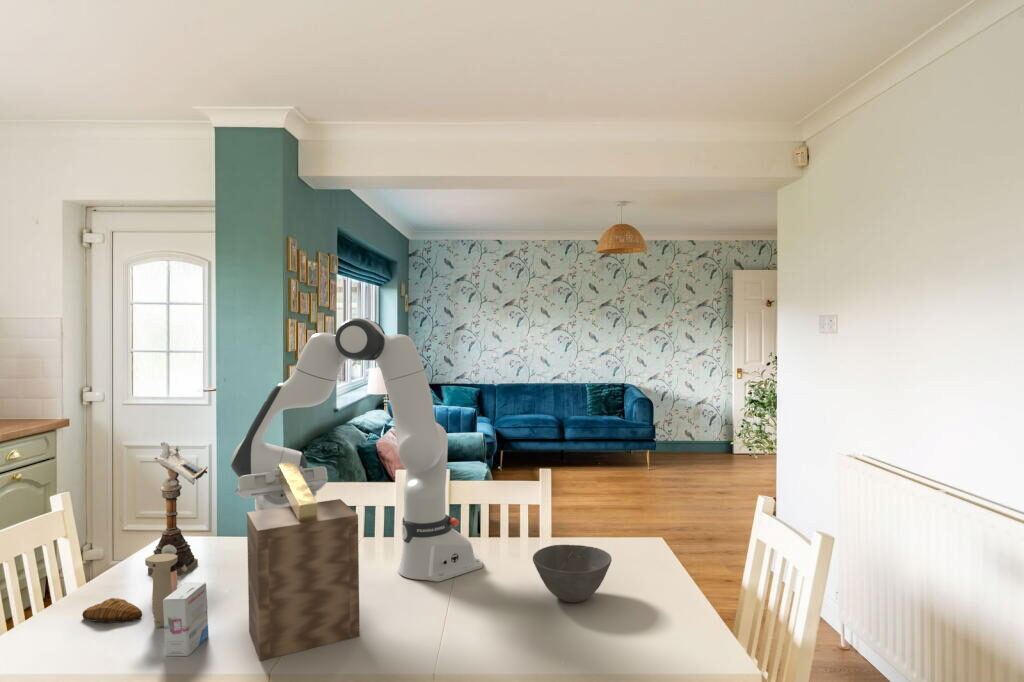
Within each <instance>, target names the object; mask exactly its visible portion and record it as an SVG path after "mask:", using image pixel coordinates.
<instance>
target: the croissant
mask: <svg viewBox="0 0 1024 682" xmlns="http://www.w3.org/2000/svg"><path fill="white" fill-rule="evenodd" d="M142 616H143V612H142V610H141V609H140V608H139V607H138V606H136V605H135V604H133V603H131V602H128V601H127V600H126V599H124V598H117V597H116V598H115V597H111V598H109V599H106V600H104V601H102V602H100V603H97V604H94V605H92V606H89V607H87V608H86V609H85V610H83V611H82V618H83V619H84V620H87V621H91V622H99V623H105V624H106V623H107V624H108V623H118V622H119V623H123V622H132V621H137V620H139V619H141V618H142Z"/></svg>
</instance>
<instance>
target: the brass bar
mask: <svg viewBox="0 0 1024 682" xmlns="http://www.w3.org/2000/svg"><path fill="white" fill-rule="evenodd" d="M278 469H280V478H278V480H279V482H280V484H281V486H282V488H283V490H284V492H285V494H286V496H287V498H288V500H289V502H290V504H291V505H290V506H292V508H293V511H294V513H295V515H296V517H297V519H298V521H299V522H302V521H308V520H315V519H317V502H318V501H317V499H316V498H315V497H314V496H313V494H312V492H311V491H310V489H309V487H308V485H307V484H306V482H305V480H304V478H303V477H302V475H301V473H300V471H299V470H298V468H297V466H296V464H295V463H294V462H289V463H280V464H278Z"/></svg>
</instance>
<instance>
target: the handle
mask: <svg viewBox="0 0 1024 682" xmlns="http://www.w3.org/2000/svg"><path fill="white" fill-rule="evenodd" d="M144 561H145V563H144V564H145V566H147V568H148V567H150V568H152V569H153V578H152V595H151V596H152V597H151V598H152V600H151V602H152V604H151V605H152V606H151V607H152V608H151V609H152V614H153V619H154V620H153V622H154V626H155V627H157V628H158V629H159V628H164V613H163V599H165V598H166V597H167V596H169V595H170V594H171V593H172V586H171V574H170V567H171V566H173V565H174V564H175V563H176V562H177V555H174V554H155V555H154V554H152V555H149V556H148V557H146V558H145V559H144Z"/></svg>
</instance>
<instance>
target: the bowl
mask: <svg viewBox="0 0 1024 682" xmlns="http://www.w3.org/2000/svg"><path fill="white" fill-rule="evenodd" d="M612 561H613V560H612V556H611V554H610V553H609V552H607V551H605V550H603V549H601V548H597V547H594V546H587V545H582V544H581V545H580V544H577V545H576V544H552V545H549V546H545V547H542V548H541V549H539V550H537V551H535V553H534V554H533V556H532V562H533V564H534V566H535V569H536V571H537V572H538V575H539V577H540V579H541V580H542V582H543V584H544V585H545V588H546V589H547V590H548V591H549V592H550V593H551V594H552V595H553V596H554V597H556V598H558V599H559V600H561V601H564V602H566V603H579V602H582V601H586V600H587V599H588V598H590V597H591V596H592V595H593V594H595V593H596V592H597V590H598V589H599V588H600V587H601V585H602V583H603V582H604V579H605V578H606V575H607V573H608V570H609V568H610V566H611V563H612Z"/></svg>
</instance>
